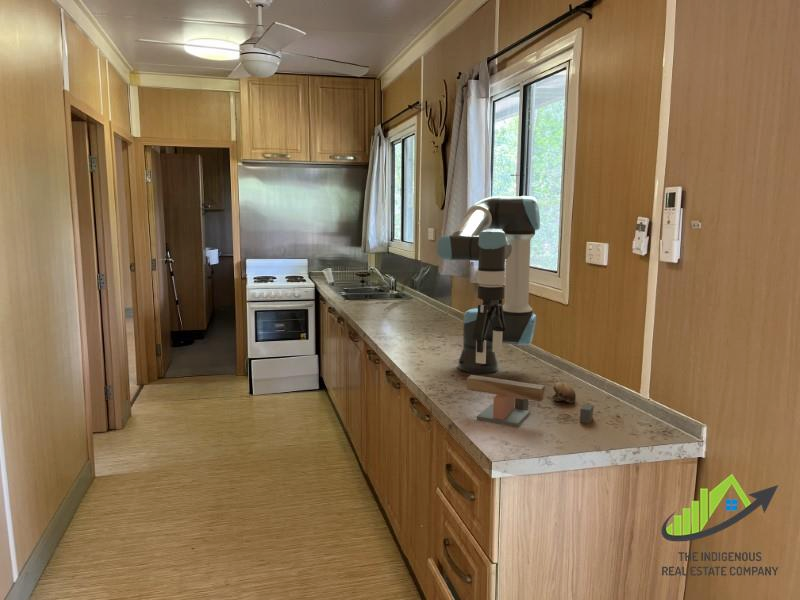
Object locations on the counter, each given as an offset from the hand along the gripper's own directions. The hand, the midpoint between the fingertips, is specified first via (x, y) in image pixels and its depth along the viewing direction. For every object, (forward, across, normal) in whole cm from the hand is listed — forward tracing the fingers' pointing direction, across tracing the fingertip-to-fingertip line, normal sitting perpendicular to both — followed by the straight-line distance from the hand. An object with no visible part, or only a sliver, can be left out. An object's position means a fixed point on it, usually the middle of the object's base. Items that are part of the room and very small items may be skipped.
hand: (489, 357), depth 164 cm
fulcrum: (+17, 0, +5) cm, 18 cm away
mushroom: (+18, -22, +17) cm, 33 cm away
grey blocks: (+17, -8, +17) cm, 26 cm away
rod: (+10, 0, +5) cm, 11 cm away
